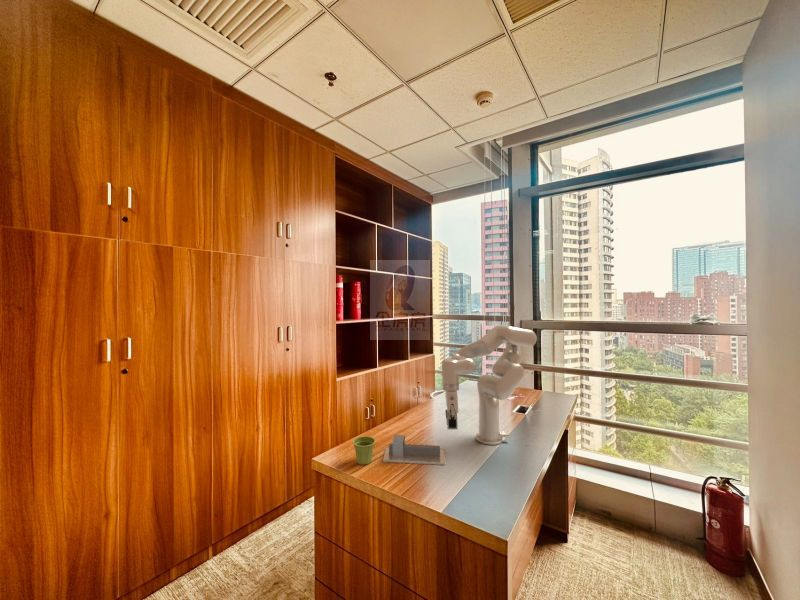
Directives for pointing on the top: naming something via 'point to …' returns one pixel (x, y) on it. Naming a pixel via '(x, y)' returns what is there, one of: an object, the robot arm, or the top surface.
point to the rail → (413, 453)
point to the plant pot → (364, 449)
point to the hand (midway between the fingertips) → (452, 424)
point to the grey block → (448, 419)
